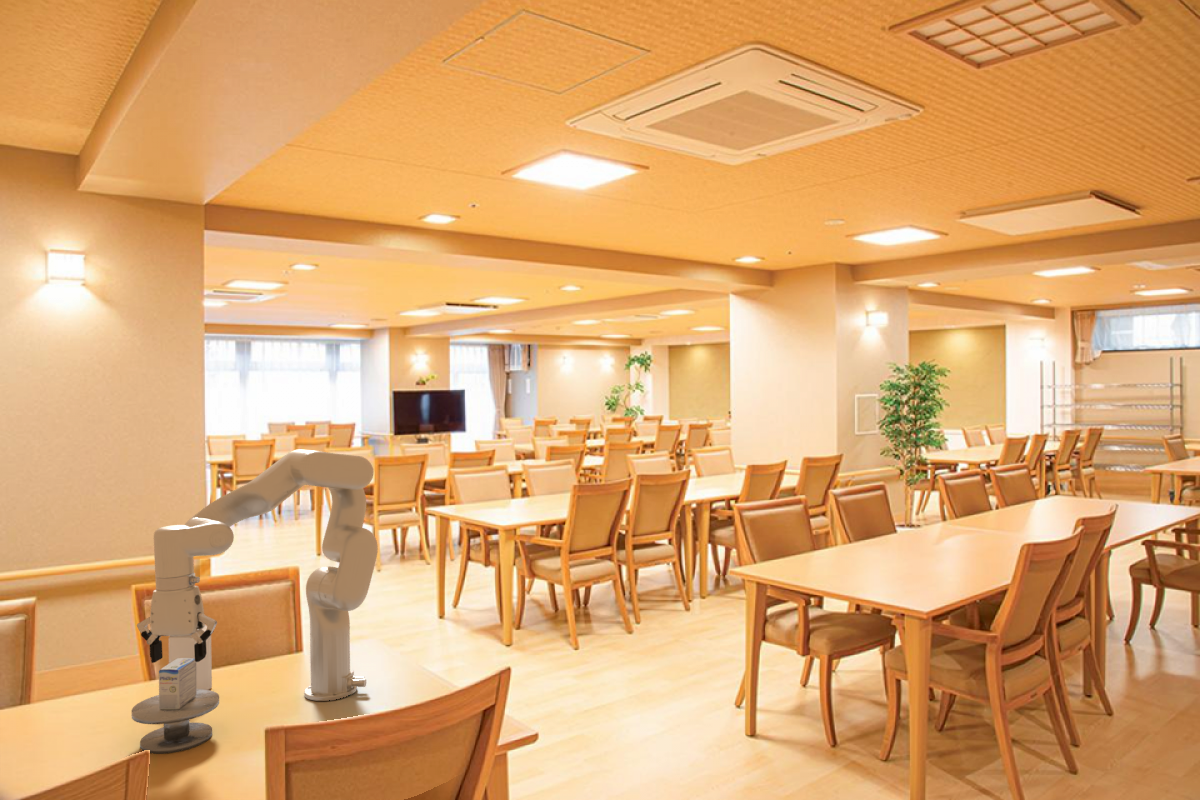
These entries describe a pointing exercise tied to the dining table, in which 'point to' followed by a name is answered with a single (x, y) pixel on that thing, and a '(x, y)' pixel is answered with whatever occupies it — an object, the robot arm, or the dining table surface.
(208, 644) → the milk carton
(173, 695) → the medicine box
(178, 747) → the cake stand
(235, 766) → the dining table surface
